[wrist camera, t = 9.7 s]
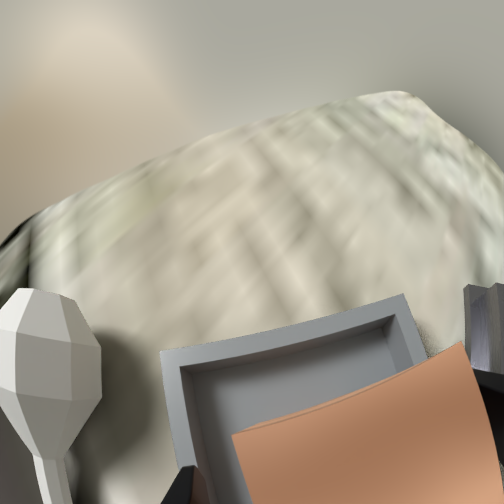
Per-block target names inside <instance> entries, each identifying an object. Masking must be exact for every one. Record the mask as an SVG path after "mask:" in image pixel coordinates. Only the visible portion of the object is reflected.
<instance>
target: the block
mask: <svg viewBox="0 0 504 504" xmlns="http://www.w3.org/2000/svg"><path fill="white" fill-rule="evenodd" d="M231 436H232V440H233V443H234V446H235V450H236V453H237V456H238V459H239V463H240V466H241V469H242V472H243V475H244V478H245V481H246V484H247V487H248V490H249V493H250V496H251V499H252V502H253V504H504V492H503V485H502V478H501V472H500V466H499V461H498V456H497V451H496V447H495V442H494V438H493V434H492V430H491V426H490V422H489V419H488V415H487V412H486V408H485V405H484V402H483V399H482V395H481V392H480V389H479V386H478V383H477V381H476V378H475V375H474V372H473V370H472V367H471V364H470V362H469V359H468V356H467V354H466V351H465V349H464V346H463V344H462V342H461V341H460V342H458V343H457V344H455V345H453V346H451V347H450V348H448V349H446V350H444V351H442V352H440V353H438V354H437V355H435V356H433V357H431V358H429V359H427V360H425V361H423V362H421V363H419V364H417V365H415V366H413V367H410V368H408V369H406V370H404V371H402V372H400V373H397V374H395V375H393V376H391V377H388V378H386V379H384V380H381V381H379V382H376V383H374V384H372V385H369V386H367V387H364V388H361V389H359V390H356V391H353V392H351V393H348V394H345V395H343V396H340V397H337V398H335V399H332V400H329V401H327V402H324V403H321V404H318V405H316V406H313V407H310V408H307V409H304V410H301V411H298V412H295V413H291V414H288V415H285V416H282V417H278V418H275V419H271V420H268V421H264V422H260V423H258V424H255V425H253V426H251V427H249V428H246V429H244V430H242V431H240V432H237V433H235V434H232V435H231Z"/></svg>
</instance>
